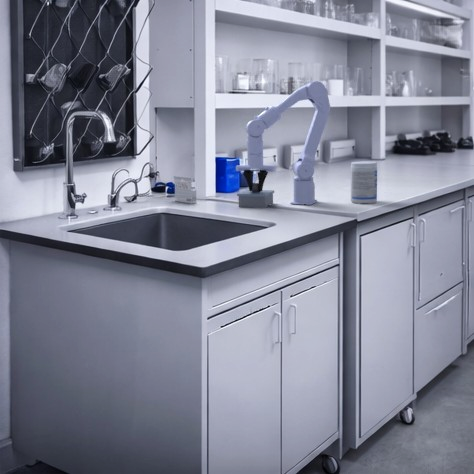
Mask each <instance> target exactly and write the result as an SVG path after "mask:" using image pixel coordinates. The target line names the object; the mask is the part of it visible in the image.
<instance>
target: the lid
mask: <svg viewBox="0 0 474 474" xmlns="http://www.w3.org/2000/svg"><path fill="white" fill-rule="evenodd" d="M272 193H273V194H274V193H275V190H271V189H270V190H268V189H262V191H259V182H253V183H252V191H249V189H246V190H243V191H240V192H237V193H236V196H237V197H239V196H255V197H266V196H268V195H270V194H272Z"/></svg>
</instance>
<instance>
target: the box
mask: <svg viewBox="0 0 474 474" xmlns="http://www.w3.org/2000/svg"><path fill="white" fill-rule="evenodd" d="M272 203H273V204H274V193H272V194H270V195H268V196H266V197H255V196H238V207H241V208H261V209H263V208H264V209H265V208H268V207H269V206H271V205H273V204H272ZM270 204H271V205H270ZM268 205H269V206H268Z"/></svg>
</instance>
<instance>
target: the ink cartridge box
mask: <svg viewBox="0 0 474 474" xmlns="http://www.w3.org/2000/svg"><path fill="white" fill-rule="evenodd" d="M173 180H174V181H173V182H174V198H175V199H174V201H175V202H179V203H180V202H181V203H186V204H191V205H192V204H197V189H192V178H191V177H183V176H176V175H175V176H173ZM181 180H182V181H181ZM183 181H184V182H183Z"/></svg>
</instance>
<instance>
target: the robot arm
mask: <svg viewBox="0 0 474 474" xmlns="http://www.w3.org/2000/svg"><path fill="white" fill-rule="evenodd" d="M306 100H308V101H310V103H311V104H312V106H313V108H314V109H315V111H314V114H313V117H312V119H311V122H310V127H309V129H308V132H307V136H306V138H305V142H304V145H303V148H302V151H301V152H300V154H299V156H298V158H297V160H296V161H295V162H294V163H293V166H292V171H293V174H294V175H295V176H294V177H293V201H291V202H290V205H304V204H306V205H308V206H309V205H310V206H312V205H313V204H315V203H316V202H318V199H316V198H315V194H316V191H315V188H316V186H315V182H314V177H313V176H314V174H315V162H316V154H317V151H318V148H319V145H320V142H321V139H322V137H323V134H324V130H325V126H326V123H327V121H328V118H329V115H330V112H331V103H330V99H329V92H328V89H327V87H326V86H325V84H323V82H321V81H317V80H316V81H308V82H307V83H306V84H305V85H302V86H301V87H299V88H297V89H296V90H295V91H293V92H292V93H291V94H290V95H288V96H287V97H286V98H285V99H284V100H282V101H281V102H279V103H278V104H277V105H275V106H273V105H271V106H266V107H265V108H264V110H263V111H262V112H261V113H260V114H259V115H255V116H254V117H253V120H252V119H251V120H249V122H248V123H247V124H246V126H245V131H246V133H247V135H246V138H247V141H246V146H247V147H246V151H247V155H246V156H247V158H246V159H247V165H246V164H243V165H238V164H237V165H236V166H235V171H236V172H242V174H243V176H244V179H245V180H246V183H247V186H248V190H249V191H252V183H254V173H255V172H257V178H258V180H257V181H258V183H259V191H262V190H264V189H263V187H264V183H265V179H267V176H268V174H269V172H271V173H272V172H276V165H267V164H266V165H264V140H263V134H264V132H265V130H268V129H269V128H270V127H272V126H273V125H274V124H276V123H277V122H278V121H279V120H280V119H281V117H282V114H283V113H285V112H286V111H287V110H288V109H290V108H291V107H293V106H294V105H296V104H297V103H298V102H300V101H306Z"/></svg>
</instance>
